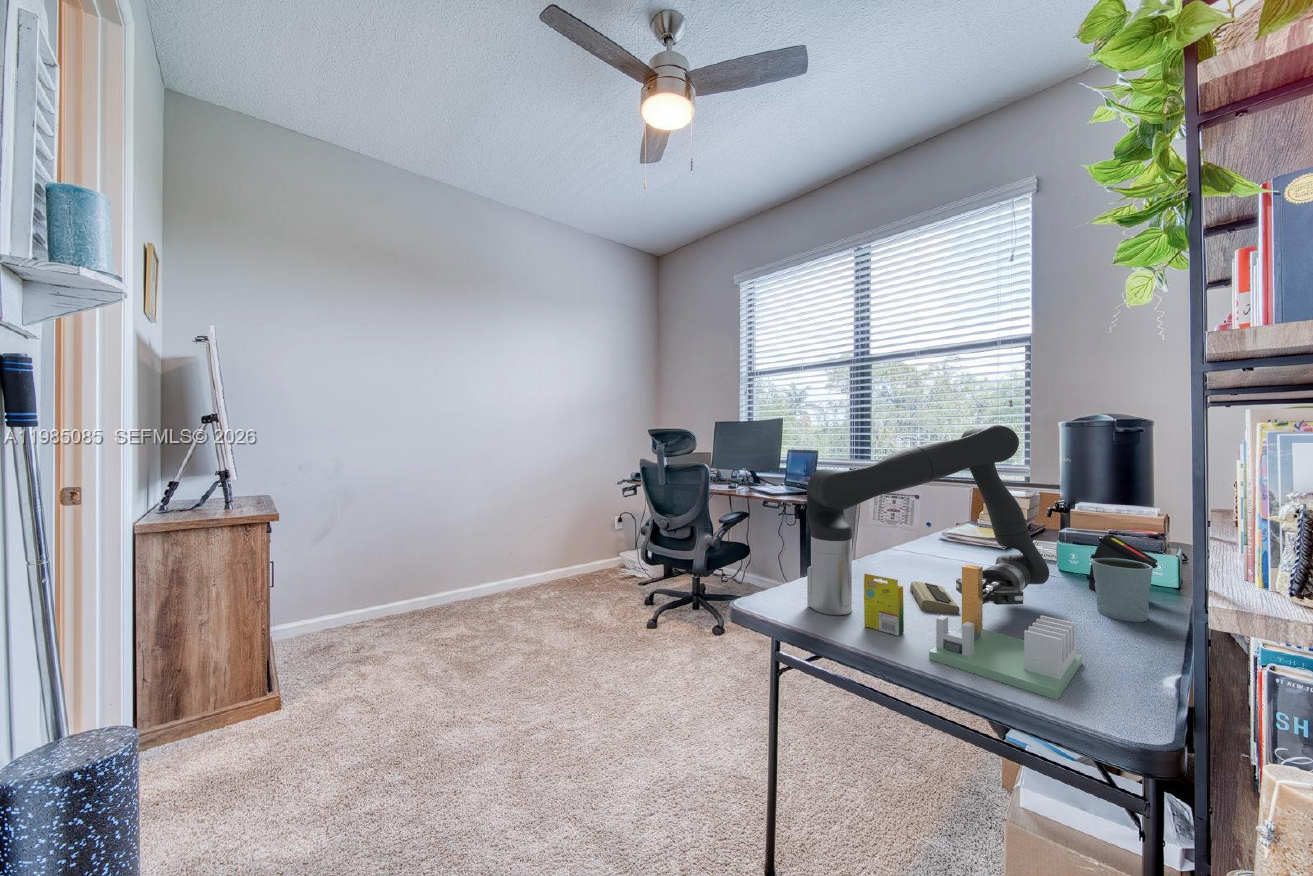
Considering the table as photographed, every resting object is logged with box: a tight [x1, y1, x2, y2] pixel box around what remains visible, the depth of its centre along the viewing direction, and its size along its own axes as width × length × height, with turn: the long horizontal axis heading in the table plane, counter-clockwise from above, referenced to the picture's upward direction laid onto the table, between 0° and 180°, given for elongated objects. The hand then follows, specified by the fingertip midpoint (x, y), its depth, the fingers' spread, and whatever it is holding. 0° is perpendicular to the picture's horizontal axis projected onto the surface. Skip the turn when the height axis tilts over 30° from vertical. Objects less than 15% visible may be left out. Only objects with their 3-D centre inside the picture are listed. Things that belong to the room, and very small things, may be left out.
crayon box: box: [863, 573, 905, 637], centre depth 107 cm, size 7×3×12 cm, turn 43°
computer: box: [909, 580, 960, 615], centre depth 125 cm, size 16×8×3 cm, turn 162°
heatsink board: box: [928, 614, 1083, 701], centre depth 93 cm, size 19×19×8 cm
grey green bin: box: [1091, 558, 1154, 623], centre depth 115 cm, size 10×10×12 cm
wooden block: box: [946, 563, 984, 654], centre depth 97 cm, size 3×12×14 cm, turn 131°
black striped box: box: [1086, 534, 1159, 591], centre depth 129 cm, size 4×13×15 cm, turn 19°
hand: (974, 600), depth 101 cm, fingers closed
